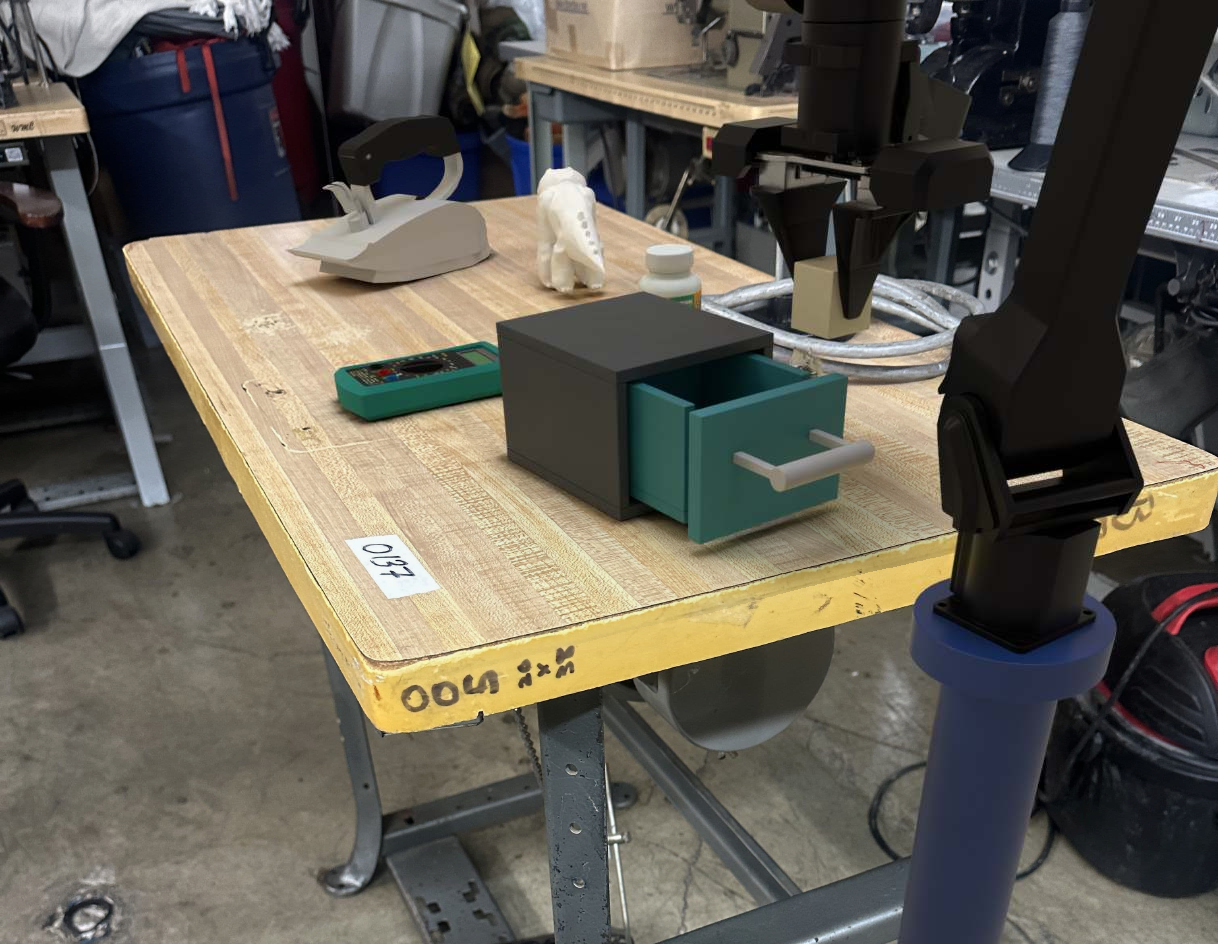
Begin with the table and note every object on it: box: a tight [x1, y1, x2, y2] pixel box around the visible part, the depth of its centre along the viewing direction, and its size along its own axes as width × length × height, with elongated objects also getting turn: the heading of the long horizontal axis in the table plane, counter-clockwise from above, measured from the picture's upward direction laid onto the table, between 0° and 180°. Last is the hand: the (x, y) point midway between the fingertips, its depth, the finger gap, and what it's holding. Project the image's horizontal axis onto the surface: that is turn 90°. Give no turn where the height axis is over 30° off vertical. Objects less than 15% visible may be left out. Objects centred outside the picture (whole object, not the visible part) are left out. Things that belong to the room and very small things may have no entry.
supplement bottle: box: [637, 243, 703, 310], centre depth 99 cm, size 5×5×10 cm
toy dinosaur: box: [535, 166, 607, 294], centre depth 120 cm, size 7×24×11 cm, turn 15°
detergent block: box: [790, 253, 874, 340], centre depth 74 cm, size 4×4×4 cm
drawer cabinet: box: [495, 291, 775, 522], centre depth 81 cm, size 15×13×10 cm
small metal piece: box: [789, 346, 824, 379], centre depth 96 cm, size 6×2×3 cm, turn 22°
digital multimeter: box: [333, 340, 502, 422], centre depth 97 cm, size 7×15×3 cm, turn 119°
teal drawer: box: [626, 351, 876, 545], centre depth 74 cm, size 18×11×8 cm, turn 34°
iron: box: [285, 114, 492, 284], centre depth 130 cm, size 11×24×15 cm, turn 139°
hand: (831, 312), depth 75 cm, fingers closed on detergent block, 3 cm apart
